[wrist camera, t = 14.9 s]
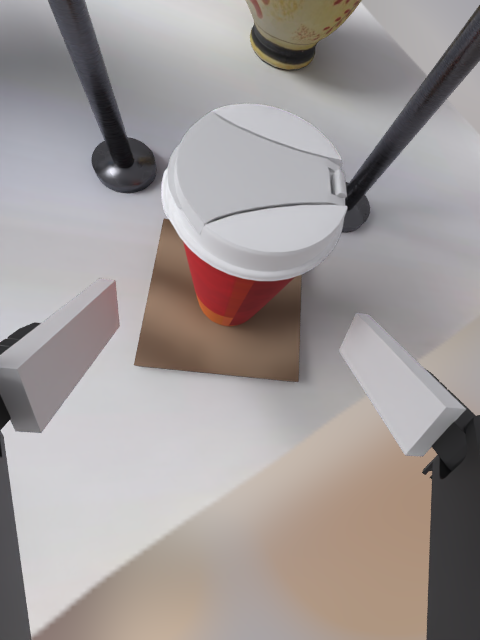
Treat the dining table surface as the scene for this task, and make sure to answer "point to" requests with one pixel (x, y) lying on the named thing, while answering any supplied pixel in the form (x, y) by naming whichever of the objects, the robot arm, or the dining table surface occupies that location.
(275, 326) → the walnut board
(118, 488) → the dining table surface
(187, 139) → the paper cup
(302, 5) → the amphora
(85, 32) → the frame
